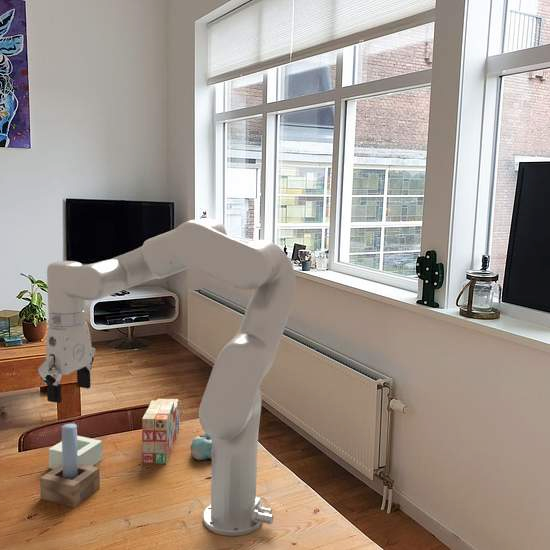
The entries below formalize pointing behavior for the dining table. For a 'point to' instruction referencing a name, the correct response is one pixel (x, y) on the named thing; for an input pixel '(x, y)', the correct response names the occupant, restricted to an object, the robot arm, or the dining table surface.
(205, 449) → the teal cartoon creature figurine
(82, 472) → the brown wooden square ring
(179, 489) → the dining table surface
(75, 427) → the light blue rod
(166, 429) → the stack of blocks
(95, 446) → the white square hollow block
